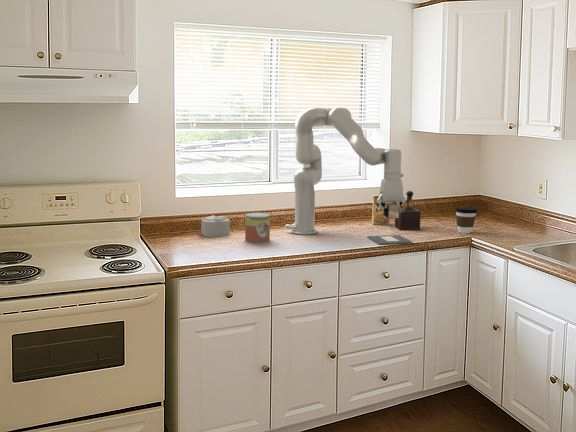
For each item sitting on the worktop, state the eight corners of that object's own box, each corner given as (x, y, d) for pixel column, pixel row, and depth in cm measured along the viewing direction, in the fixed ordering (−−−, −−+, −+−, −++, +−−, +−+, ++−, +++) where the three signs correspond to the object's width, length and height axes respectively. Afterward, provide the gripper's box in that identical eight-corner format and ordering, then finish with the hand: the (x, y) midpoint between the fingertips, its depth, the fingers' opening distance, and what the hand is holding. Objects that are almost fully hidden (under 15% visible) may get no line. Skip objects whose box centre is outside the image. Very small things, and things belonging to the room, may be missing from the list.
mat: (379, 244, 291) (379, 242, 291) (367, 237, 306) (367, 235, 306) (412, 243, 295) (412, 241, 294) (398, 236, 310) (399, 234, 310)
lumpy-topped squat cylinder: (199, 233, 311) (199, 215, 310) (225, 231, 317) (225, 214, 315) (206, 237, 302) (206, 219, 301) (232, 235, 307) (232, 217, 306)
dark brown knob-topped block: (421, 230, 327) (423, 194, 324) (400, 230, 326) (402, 194, 322) (410, 224, 342) (412, 190, 339) (390, 224, 341) (392, 190, 338)
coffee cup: (473, 235, 316) (474, 210, 314) (450, 232, 321) (452, 208, 319) (478, 231, 325) (480, 207, 323) (456, 229, 330) (458, 205, 328)
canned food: (252, 244, 289) (252, 217, 287) (240, 239, 298) (240, 213, 296) (274, 241, 295) (274, 215, 293) (262, 237, 304) (262, 211, 302)
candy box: (372, 224, 339) (373, 195, 337) (371, 223, 344) (372, 194, 341) (389, 225, 339) (390, 196, 336) (388, 223, 343) (389, 194, 341)
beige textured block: (383, 215, 302) (383, 202, 301) (391, 215, 303) (392, 202, 302) (390, 218, 294) (390, 205, 293) (398, 218, 295) (398, 204, 294)
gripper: (406, 175, 301) (404, 214, 304) (371, 175, 297) (370, 215, 300) (412, 177, 294) (411, 217, 297) (377, 177, 290) (376, 218, 293)
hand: (390, 215), depth 298 cm, fingers closed on beige textured block, 4 cm apart
